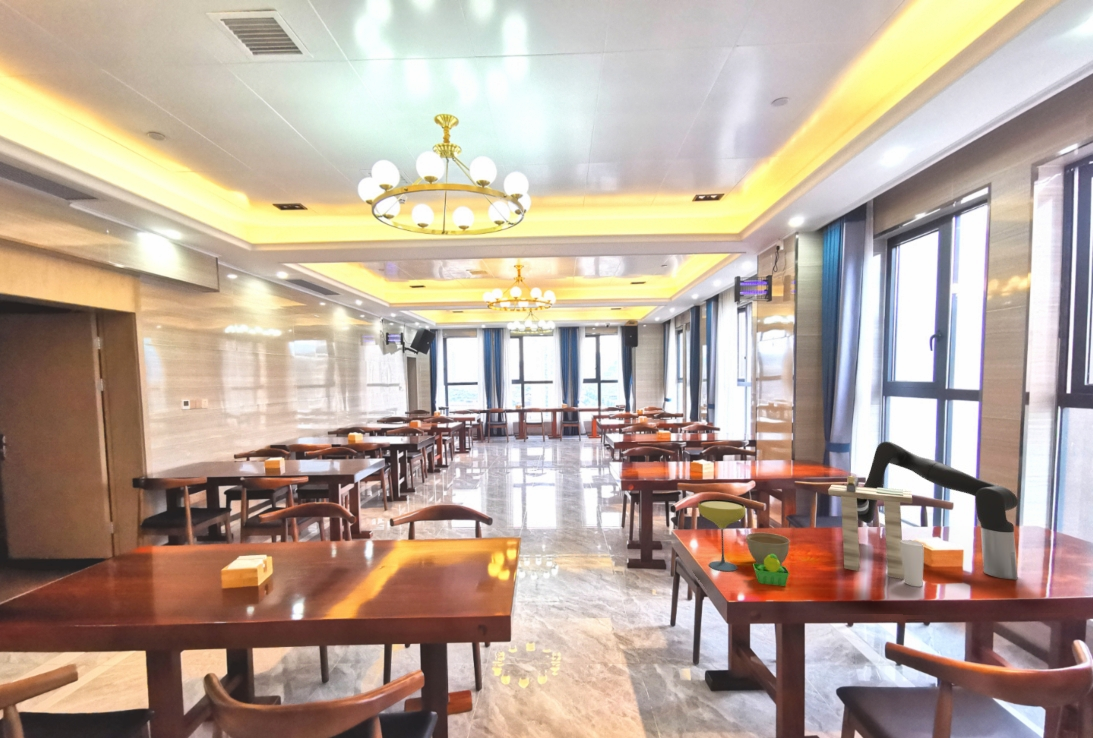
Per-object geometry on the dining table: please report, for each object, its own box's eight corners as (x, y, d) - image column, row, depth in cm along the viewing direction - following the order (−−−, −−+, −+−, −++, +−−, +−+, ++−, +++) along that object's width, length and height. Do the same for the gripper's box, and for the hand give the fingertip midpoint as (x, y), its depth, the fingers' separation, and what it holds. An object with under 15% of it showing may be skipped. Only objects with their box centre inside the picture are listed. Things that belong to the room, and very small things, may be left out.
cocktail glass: (700, 572, 182) (698, 507, 184) (699, 557, 199) (697, 498, 201) (749, 577, 177) (747, 510, 178) (744, 561, 194) (742, 500, 195)
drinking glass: (902, 579, 174) (900, 538, 175) (925, 583, 169) (923, 542, 170) (901, 585, 169) (899, 543, 169) (925, 589, 164) (923, 546, 165)
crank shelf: (835, 562, 192) (831, 483, 194) (915, 576, 176) (910, 490, 178) (831, 572, 180) (828, 488, 182) (917, 589, 165) (912, 496, 167)
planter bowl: (780, 558, 197) (779, 532, 197) (797, 573, 181) (796, 544, 181) (741, 557, 198) (740, 531, 199) (754, 571, 182) (753, 543, 183)
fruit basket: (785, 579, 174) (784, 549, 175) (791, 589, 166) (789, 557, 166) (752, 576, 177) (751, 546, 178) (756, 586, 169) (755, 554, 169)
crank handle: (850, 482, 197) (850, 469, 198) (858, 483, 195) (858, 469, 196) (846, 491, 180) (846, 476, 180) (855, 492, 178) (854, 477, 178)
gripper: (839, 490, 215) (835, 477, 205) (877, 494, 207) (875, 480, 196) (839, 506, 212) (835, 493, 201) (877, 510, 203) (875, 497, 193)
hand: (855, 486), depth 199 cm, fingers open, 8 cm apart
